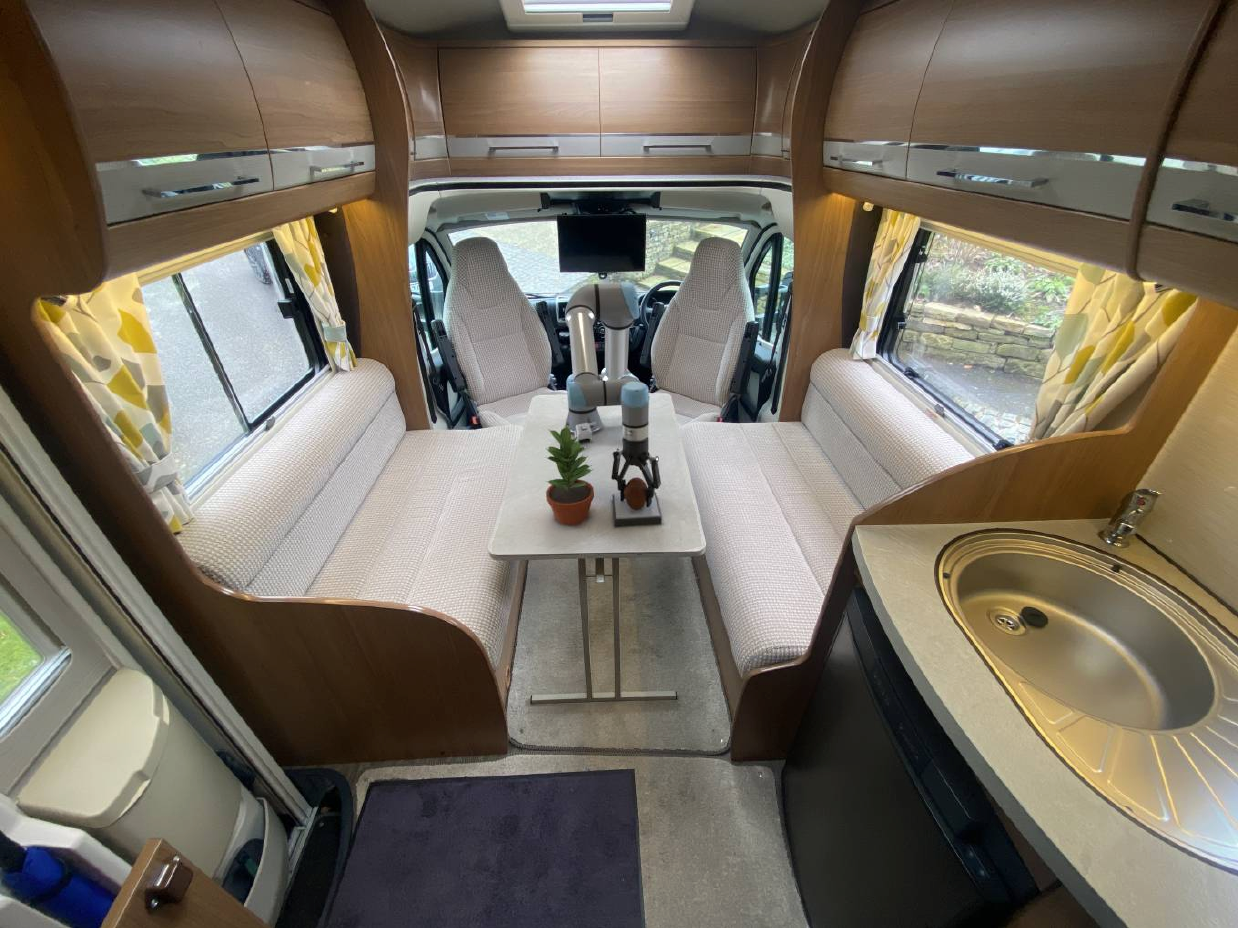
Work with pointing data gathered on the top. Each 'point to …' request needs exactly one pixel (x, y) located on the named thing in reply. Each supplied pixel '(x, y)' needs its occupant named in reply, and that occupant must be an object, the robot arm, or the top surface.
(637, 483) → the potato
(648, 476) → the robot arm
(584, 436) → the tape dispenser
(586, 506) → the potted plant
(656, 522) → the scale
